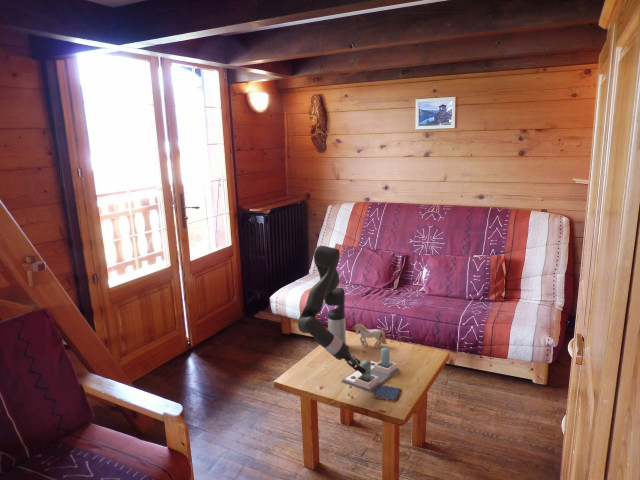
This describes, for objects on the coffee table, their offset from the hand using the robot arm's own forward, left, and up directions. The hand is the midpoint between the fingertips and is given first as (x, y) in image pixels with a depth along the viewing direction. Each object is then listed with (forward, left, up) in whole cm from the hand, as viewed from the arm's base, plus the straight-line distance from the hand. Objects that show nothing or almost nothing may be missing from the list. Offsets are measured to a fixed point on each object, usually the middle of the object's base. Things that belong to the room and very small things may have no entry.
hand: (361, 367), depth 203 cm
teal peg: (+1, +2, -8) cm, 8 cm away
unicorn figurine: (-19, +34, -9) cm, 39 cm away
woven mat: (+13, 0, -9) cm, 16 cm away
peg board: (-2, +10, -9) cm, 13 cm away
